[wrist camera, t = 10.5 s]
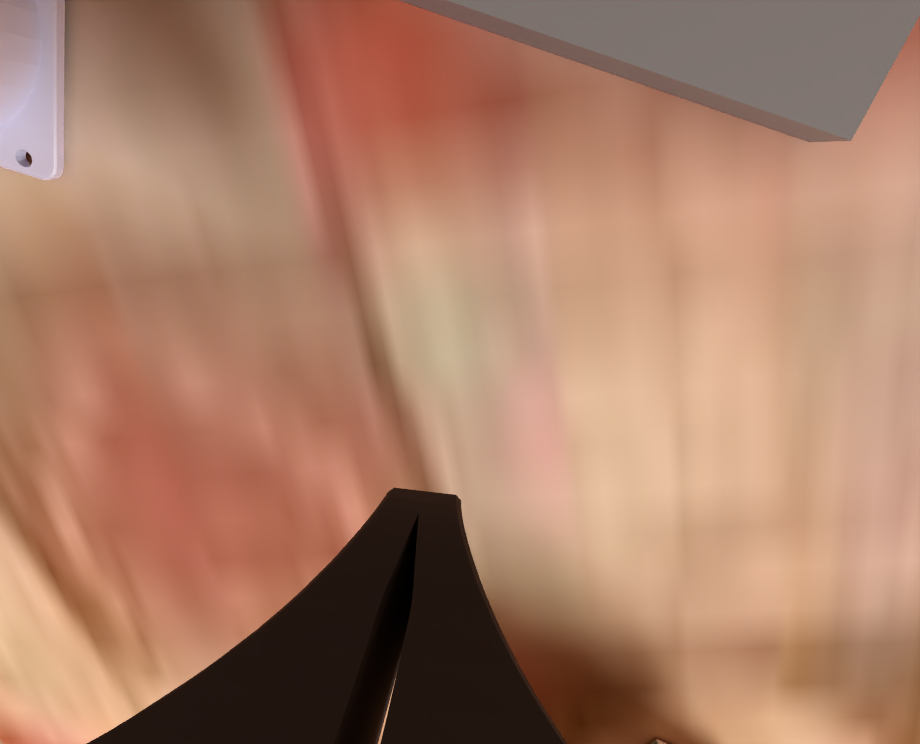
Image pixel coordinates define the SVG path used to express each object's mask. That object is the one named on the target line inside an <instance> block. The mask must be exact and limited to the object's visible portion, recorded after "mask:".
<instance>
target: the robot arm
mask: <svg viewBox="0 0 920 744" xmlns="http://www.w3.org/2000/svg"><path fill="white" fill-rule="evenodd" d="M64 40H65V0H0V167H3V168H7V169H10V170H13V171H16V172H19V173H22V174H26V175H29V176H32V177H35V178H38V179H43V180H54V179H57V178H59V177H60V176H61V175H62V173H63V169H64ZM26 152H28V153H29V154H30V155H31V158H32V164H31V165H30V164H29V162H28V161H27V159H26ZM397 670H398V671H397ZM396 674H397V675H396ZM395 678H396V680H395ZM394 681H395V684H394ZM393 685H394V689H393ZM392 689H393V693H392V698H391V702H390V707H389V711H388V715H387V719H386V723H385V728H384V732H383V736H382V740H381V744H567V743H566V741H565V740H564V738H563V737H562V735H561V734H560V732H559V730H558V729H557V727H556V726H555V724H554V723H553V721H552V720H551V718H550V716H549V715H548V713H547V712H546V710H545V709H544V707H543V706H542V704H541V702H540V701H539V699H538V698H537V696H536V694H535V693H534V691H533V689H532V687H531V686H530V684H529V682H528V680H527V679H526V677H525V675H524V673H523V671H522V670H521V668H520V666H519V664H518V662H517V660H516V658H515V657H514V655H513V653H512V651H511V649H510V647H509V645H508V643H507V641H506V639H505V637H504V635H503V633H502V631H501V629H500V626H499V624H498V622H497V620H496V618H495V615H494V613H493V611H492V608H491V606H490V604H489V601H488V599H487V596H486V594H485V591H484V589H483V586H482V584H481V581H480V578H479V575H478V572H477V569H476V566H475V564H474V561H473V558H472V555H471V551H470V548H469V545H468V541H467V537H466V533H465V529H464V524H463V519H462V511H461V500H460V499H459V498H458V497H457V495H452V494H443V493H434V492H426V491H417V490H409V489H400V488H393V489H392V490H390V491H389V492H388V493H387V494H386V496H385V497H384V499H383V500H382V502H381V503H380V505H379V506H378V507H377V509H376V510H375V511H374V512H373V514H372V515H371V516H370V518H369V519H368V520H367V521H366V523H365V524H364V525H363V526H362V527H361V529H360V530H359V531H358V532H357V533H356V534H355V536H354V537H353V538H352V539H351V540H350V541H349V542H348V543H347V545H346V546H345V547H344V548H343V549H342V550H341V551H340V552H339V554H338V555H337V556H336V557H335V558H334V559H333V560H332V561H331V562H330V563H329V564H328V565H327V566H326V567H325V568H324V569H323V570H322V571H321V572H320V573H319V574H318V575H317V576H316V577H315V578H314V579H313V580H312V581H311V582H310V583H309V584H308V585H307V586H306V587H305V588H304V589H303V590H302V591H301V592H300V593H299V594H298V595H296V596H295V597H294V598H293V599H292V600H291V601H290V602H289V603H288V604H287V605H285V606H284V607H283V608H282V609H281V610H280V611H279V612H277V613H276V614H275V615H274V616H273V617H271V618H270V619H269V620H268V621H267V622H266V623H264V624H263V625H262V626H261V627H260V628H258V629H257V630H256V631H255V632H253V633H252V634H251V635H249V636H248V637H247V638H246V639H244V640H243V641H242V642H240V643H239V644H238V645H236V646H235V647H234V648H233V649H231V650H230V651H229V652H227V653H226V654H225V655H223V656H222V657H221V658H219V659H218V660H217V661H215V662H214V663H213V664H211V665H210V666H208V667H207V668H206V669H204V670H203V671H201V672H200V673H199V674H197V675H196V676H194V677H193V678H191V679H190V680H188V681H187V682H185V683H184V684H182V685H181V686H179V687H178V688H176V689H174V690H173V691H171V692H170V693H168V694H167V695H165V696H164V697H162V698H161V699H159V700H158V701H156V702H155V703H153V704H152V705H150V706H148V707H147V708H145V709H144V710H142V711H141V712H139V713H138V714H136V715H135V716H133V717H132V718H130V719H128V720H127V721H125V722H123V723H122V724H120V725H118V726H117V727H115V728H114V729H112V730H110V731H109V732H107V733H105V734H103V735H101V736H100V737H98V738H96V739H94V740H93V741H91V742H89V743H87V744H378V741H379V737H380V733H381V730H382V726H383V722H384V718H385V715H386V711H387V707H388V704H389V700H390V696H391V692H392Z"/></svg>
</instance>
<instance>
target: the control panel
mask: <svg viewBox="0 0 920 744" xmlns="http://www.w3.org/2000/svg"><path fill="white" fill-rule="evenodd" d="M400 1H402V2H405V3H408V4H411V5H414V6H417V7H420V8H423V9H426V10H429V11H431V12H434V13H437V14H440V15H443V16H446V17H449V18H452V19H455V20H457V21H460V22H463V23H466V24H469V25H472V26H475V27H478V28H481V29H484V30H486V31H489V32H492V33H495V34H498V35H501V36H504V37H507V38H510V39H512V40H515V41H518V42H521V43H524V44H527V45H530V46H533V47H536V48H539V49H541V50H544V51H547V52H550V53H553V54H556V55H559V56H562V57H565V58H568V59H570V60H573V61H576V62H579V63H582V64H585V65H588V66H591V67H594V68H596V69H599V70H602V71H605V72H608V73H611V74H614V75H617V76H620V77H623V78H625V79H628V80H631V81H634V82H637V83H640V84H643V85H646V86H649V87H651V88H654V89H657V90H660V91H663V92H666V93H669V94H672V95H675V96H678V97H680V98H683V99H686V100H689V101H692V102H695V103H698V104H701V105H704V106H706V107H709V108H712V109H715V110H718V111H721V112H724V113H727V114H730V115H733V116H735V117H738V118H741V119H744V120H747V121H750V122H753V123H756V124H759V125H761V126H764V127H767V128H770V129H773V130H776V131H779V132H782V133H785V134H788V135H790V136H793V137H796V138H799V139H802V140H805V141H808V142H826V141H851V140H852V138H853V136H854V134H855V133H856V131H857V129H858V127H859V125H860V123H861V122H862V120H863V118H864V116H865V114H866V112H867V111H868V109H869V107H870V105H871V103H872V102H873V100H874V98H875V96H876V94H877V92H878V91H879V89H880V87H881V85H882V83H883V81H884V80H885V78H886V76H887V74H888V72H889V71H890V69H891V67H892V65H893V63H894V61H895V60H896V58H897V56H898V54H899V52H900V50H901V49H902V47H903V45H904V43H905V41H906V40H907V38H908V36H909V34H910V32H911V30H912V29H913V27H914V25H915V23H916V21H917V19H918V18H919V16H920V0H400Z"/></svg>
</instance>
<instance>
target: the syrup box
mask: <svg viewBox="0 0 920 744" xmlns="http://www.w3.org/2000/svg"><path fill="white" fill-rule="evenodd" d="M651 744H667V743H665V742H662V741H660V740H654V741H653V742H652V743H651Z"/></svg>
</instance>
